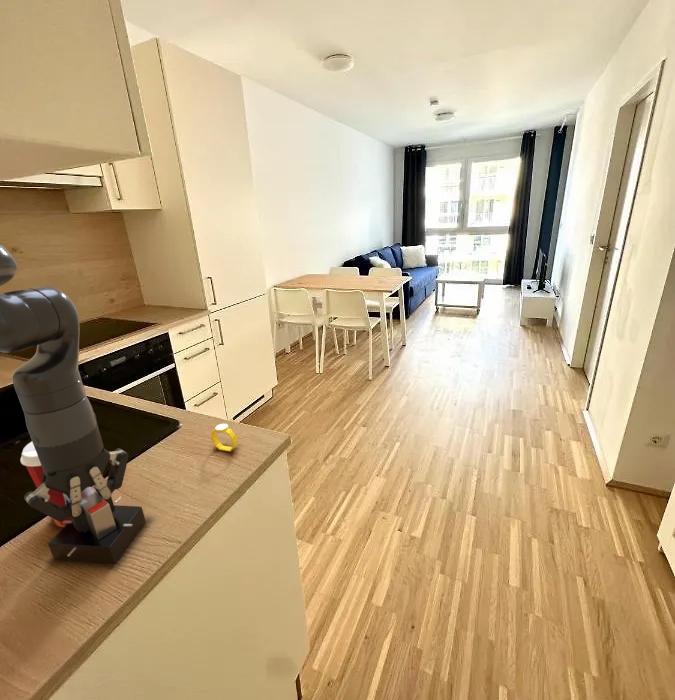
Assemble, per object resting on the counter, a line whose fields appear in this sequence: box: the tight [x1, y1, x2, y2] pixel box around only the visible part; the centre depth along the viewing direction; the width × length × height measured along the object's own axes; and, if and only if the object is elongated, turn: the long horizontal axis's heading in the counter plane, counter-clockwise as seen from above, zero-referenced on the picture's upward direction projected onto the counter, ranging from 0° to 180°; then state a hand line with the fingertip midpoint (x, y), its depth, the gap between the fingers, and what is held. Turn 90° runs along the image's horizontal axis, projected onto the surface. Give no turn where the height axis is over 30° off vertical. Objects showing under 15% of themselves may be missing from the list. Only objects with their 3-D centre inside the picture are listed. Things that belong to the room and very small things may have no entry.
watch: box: [210, 423, 238, 452], centre depth 80 cm, size 6×3×6 cm, turn 69°
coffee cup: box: [19, 441, 92, 528], centre depth 61 cm, size 8×8×15 cm
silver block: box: [81, 487, 117, 540], centre depth 56 cm, size 8×3×5 cm, turn 55°
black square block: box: [47, 496, 147, 565], centre depth 58 cm, size 12×12×4 cm
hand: (96, 522), depth 57 cm, fingers closed on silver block, 2 cm apart
